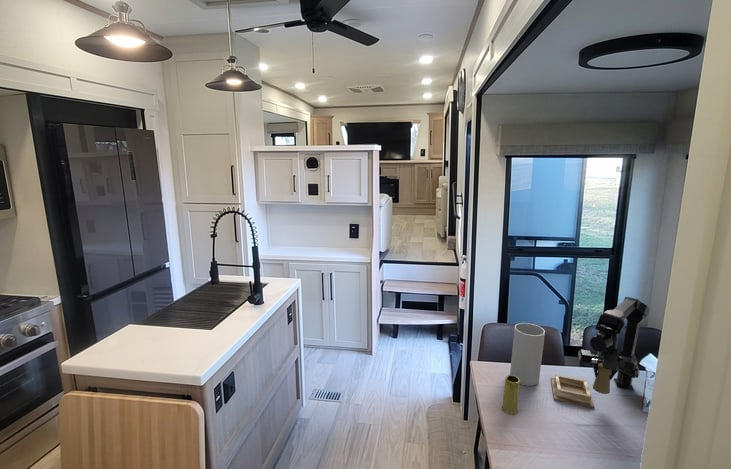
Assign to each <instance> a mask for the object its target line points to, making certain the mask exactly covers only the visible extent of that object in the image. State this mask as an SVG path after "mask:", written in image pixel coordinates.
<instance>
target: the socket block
mask: <svg viewBox="0 0 731 469" xmlns="http://www.w3.org/2000/svg"><path fill="white" fill-rule="evenodd" d="M550 383H551V390H552V395H553V396H552V398H553V401H558V402H561V403H566V404H570V405H575V406H580V407H585V408H589V409H593V410H594V409H595V404H594V403H595V402H594V400H593V397H592V394H591V389H590V387H589V385H588V382H587V380H586V379H581V378H576V377H571V376H565V375H560V374H556V373H555V374H554V377H550Z"/></svg>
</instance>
